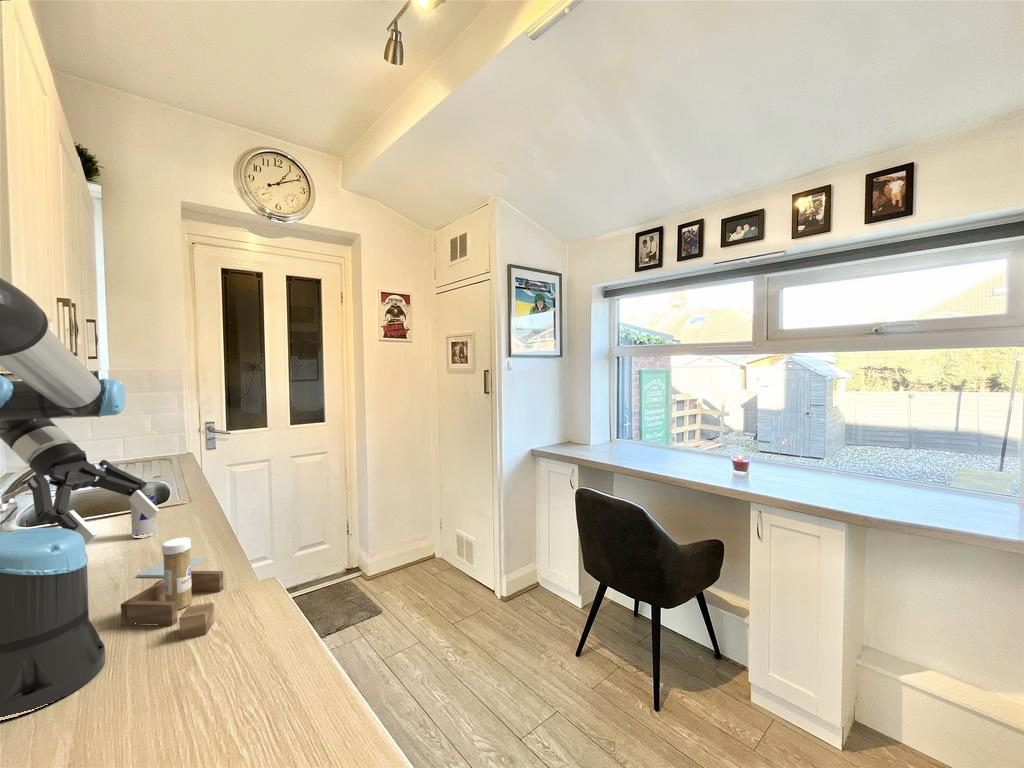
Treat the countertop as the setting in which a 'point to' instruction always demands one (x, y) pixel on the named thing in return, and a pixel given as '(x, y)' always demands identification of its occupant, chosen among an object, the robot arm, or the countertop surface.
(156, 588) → the cubby
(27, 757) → the countertop surface
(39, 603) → the robot arm
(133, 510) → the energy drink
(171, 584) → the spice jar
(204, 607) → the walnut cube
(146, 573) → the coaster
